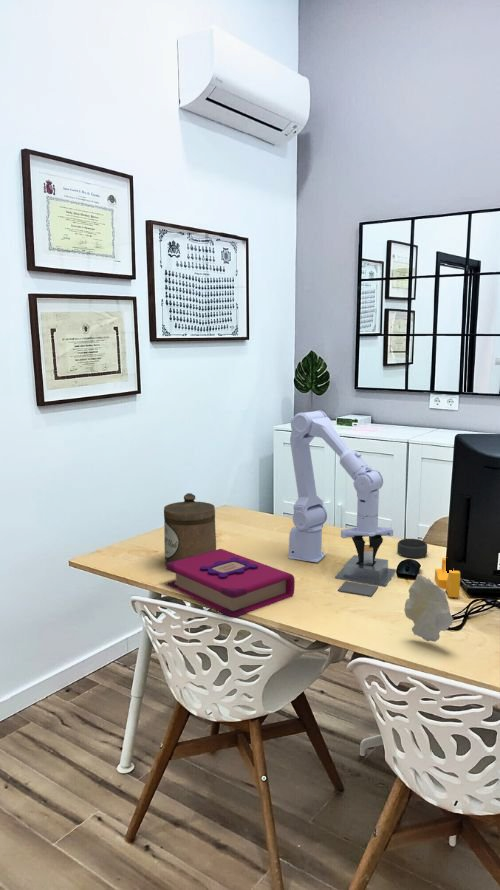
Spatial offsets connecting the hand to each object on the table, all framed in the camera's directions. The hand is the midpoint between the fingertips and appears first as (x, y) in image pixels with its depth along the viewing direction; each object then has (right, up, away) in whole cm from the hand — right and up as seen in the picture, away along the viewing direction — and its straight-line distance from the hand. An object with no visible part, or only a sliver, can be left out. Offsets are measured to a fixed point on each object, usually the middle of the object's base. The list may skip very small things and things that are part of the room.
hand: (366, 561), depth 181 cm
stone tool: (+6, -10, -39) cm, 41 cm away
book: (-38, -7, -11) cm, 40 cm away
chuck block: (0, -4, +1) cm, 4 cm away
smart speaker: (+17, -2, +19) cm, 26 cm away
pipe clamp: (+20, -6, -9) cm, 22 cm away
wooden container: (-50, -3, +7) cm, 50 cm away
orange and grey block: (0, -3, 0) cm, 3 cm away
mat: (-4, -6, -10) cm, 12 cm away
